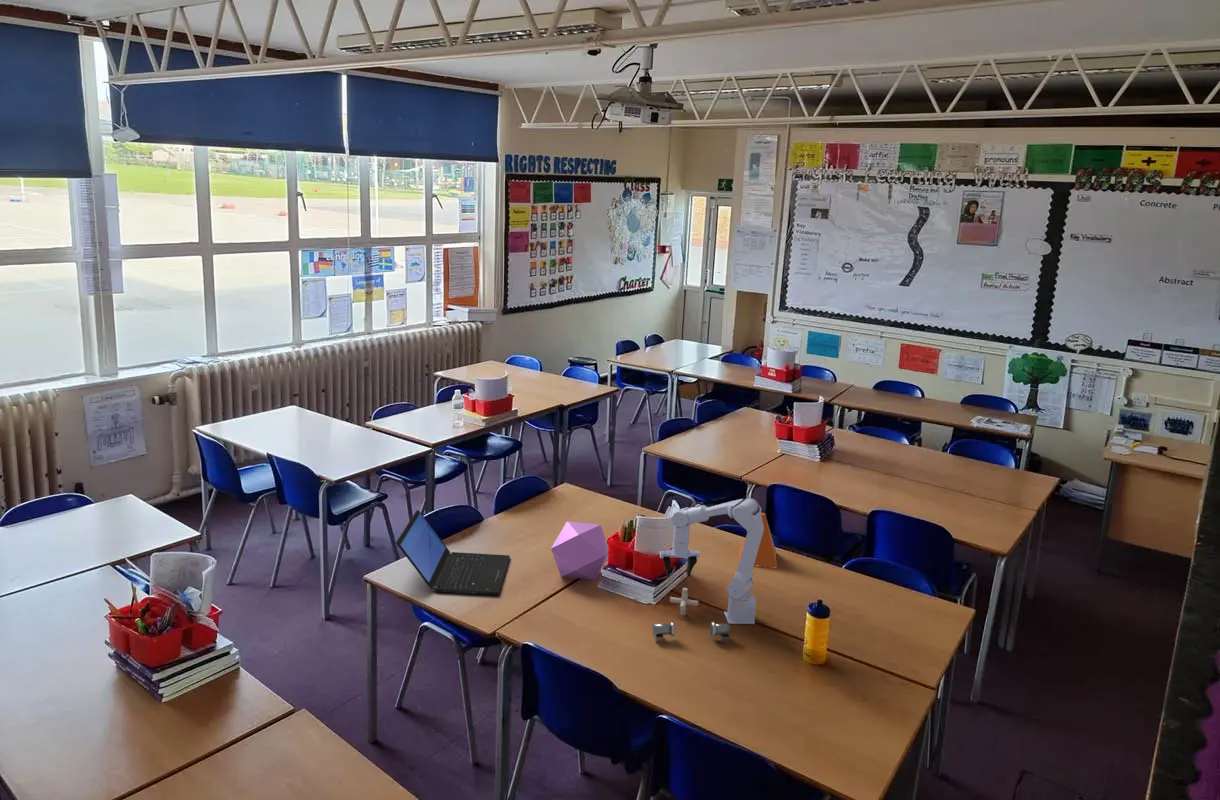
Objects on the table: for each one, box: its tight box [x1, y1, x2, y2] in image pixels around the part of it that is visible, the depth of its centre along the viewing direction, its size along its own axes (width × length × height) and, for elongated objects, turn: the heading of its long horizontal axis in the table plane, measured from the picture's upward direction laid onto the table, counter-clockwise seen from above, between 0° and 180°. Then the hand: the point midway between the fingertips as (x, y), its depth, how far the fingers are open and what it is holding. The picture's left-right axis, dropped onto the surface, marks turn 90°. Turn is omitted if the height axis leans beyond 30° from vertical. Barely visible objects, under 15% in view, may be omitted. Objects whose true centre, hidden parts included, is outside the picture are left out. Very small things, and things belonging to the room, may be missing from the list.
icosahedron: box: [550, 520, 609, 581], centre depth 327 cm, size 22×21×25 cm
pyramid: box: [738, 512, 778, 569], centre depth 350 cm, size 16×16×20 cm
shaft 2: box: [709, 621, 731, 644], centre depth 287 cm, size 6×5×6 cm
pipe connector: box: [669, 587, 699, 617], centre depth 302 cm, size 10×10×10 cm
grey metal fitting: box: [651, 621, 676, 644], centre depth 285 cm, size 7×5×6 cm
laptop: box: [395, 509, 511, 596], centre depth 322 cm, size 33×38×19 cm
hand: (678, 575), depth 312 cm, fingers open, 7 cm apart
